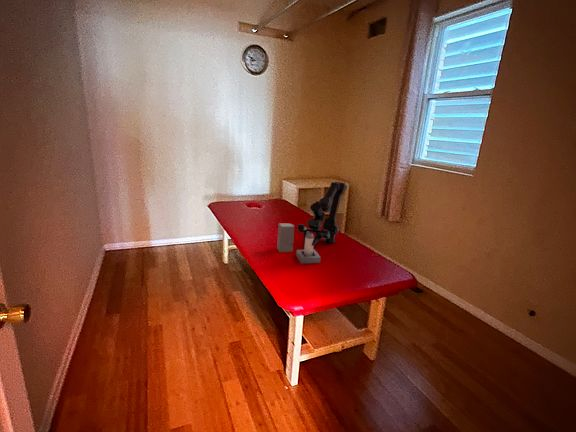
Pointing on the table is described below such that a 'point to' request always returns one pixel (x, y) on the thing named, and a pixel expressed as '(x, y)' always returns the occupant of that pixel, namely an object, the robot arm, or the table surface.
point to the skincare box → (285, 237)
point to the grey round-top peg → (308, 244)
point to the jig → (308, 257)
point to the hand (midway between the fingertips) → (308, 244)
